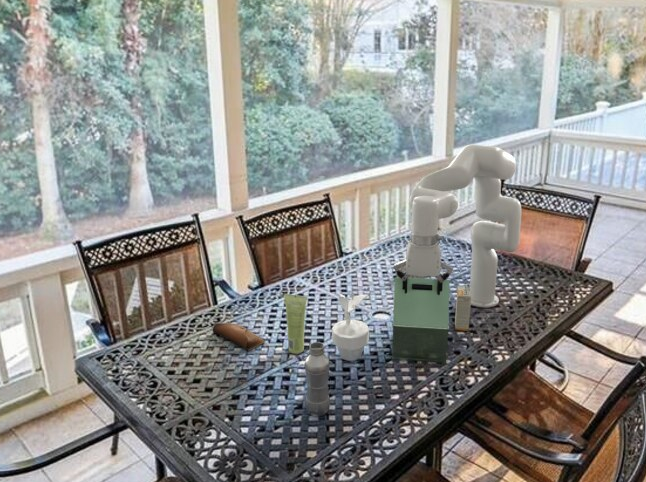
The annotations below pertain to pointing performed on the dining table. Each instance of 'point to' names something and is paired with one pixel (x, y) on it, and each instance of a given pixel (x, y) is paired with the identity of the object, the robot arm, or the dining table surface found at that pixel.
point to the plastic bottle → (317, 380)
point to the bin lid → (421, 303)
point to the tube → (295, 322)
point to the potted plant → (350, 330)
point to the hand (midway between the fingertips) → (422, 292)
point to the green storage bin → (420, 343)
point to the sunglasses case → (238, 335)
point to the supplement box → (463, 308)
